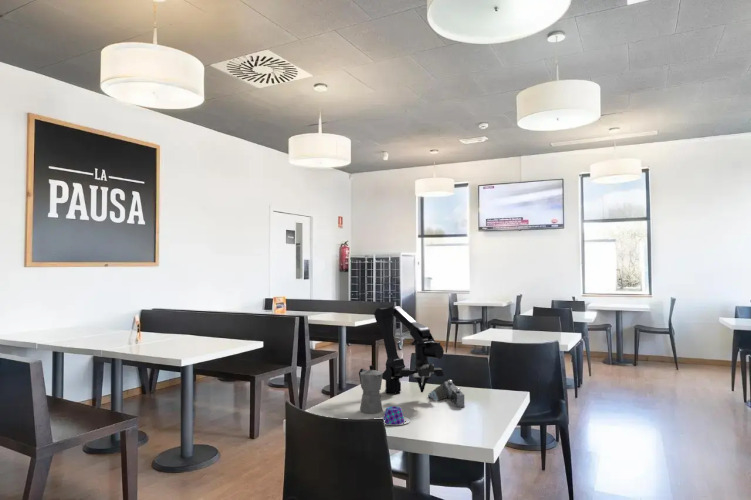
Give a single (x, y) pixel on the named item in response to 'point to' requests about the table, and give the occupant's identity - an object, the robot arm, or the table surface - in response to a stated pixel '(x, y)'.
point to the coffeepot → (371, 390)
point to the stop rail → (455, 394)
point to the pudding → (394, 416)
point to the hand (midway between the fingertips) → (421, 392)
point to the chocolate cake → (440, 392)
